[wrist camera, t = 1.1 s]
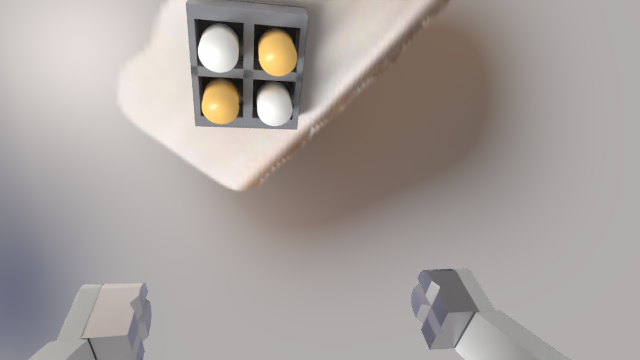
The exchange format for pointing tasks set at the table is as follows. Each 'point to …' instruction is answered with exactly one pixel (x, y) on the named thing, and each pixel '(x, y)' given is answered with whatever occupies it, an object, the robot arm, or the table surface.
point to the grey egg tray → (246, 55)
